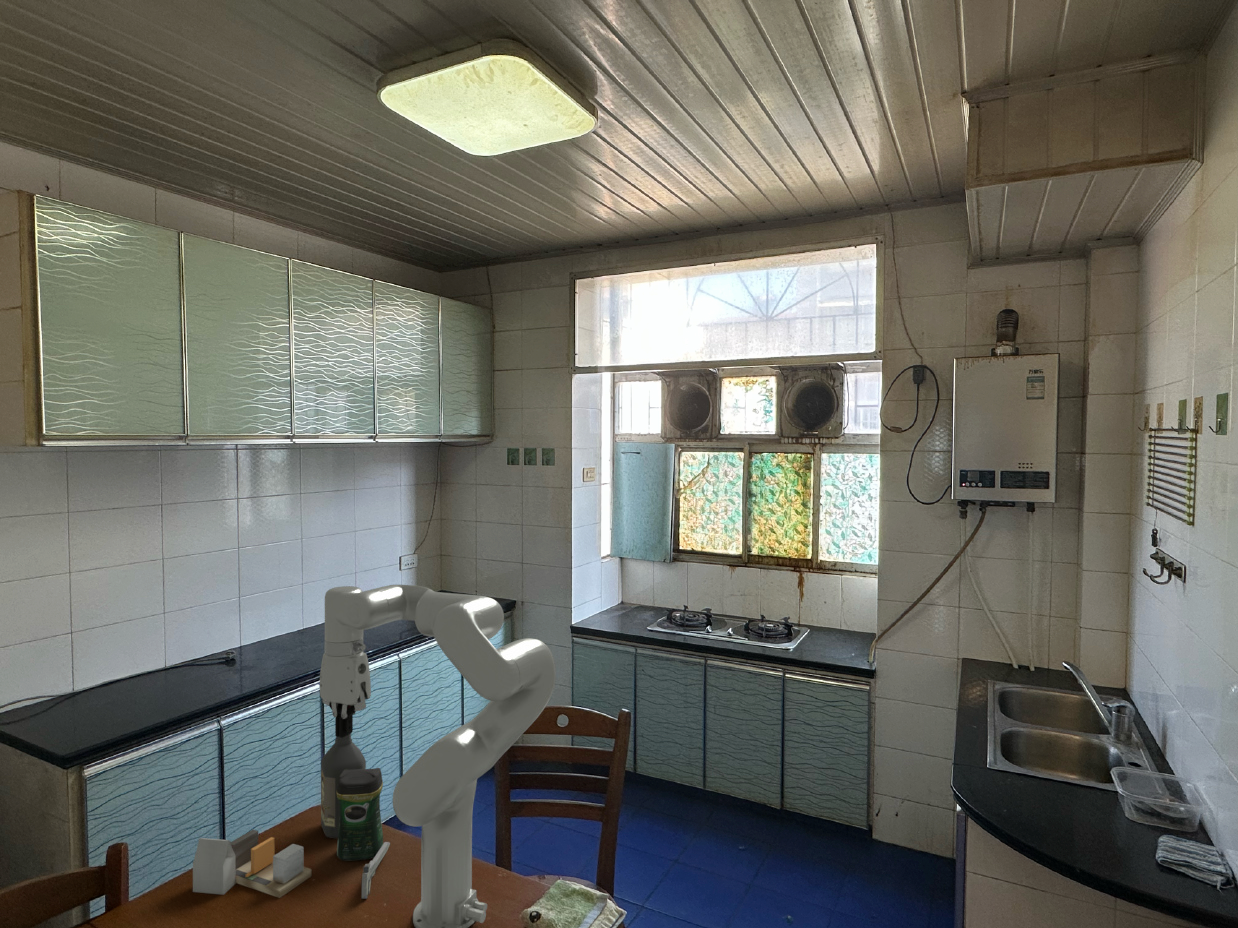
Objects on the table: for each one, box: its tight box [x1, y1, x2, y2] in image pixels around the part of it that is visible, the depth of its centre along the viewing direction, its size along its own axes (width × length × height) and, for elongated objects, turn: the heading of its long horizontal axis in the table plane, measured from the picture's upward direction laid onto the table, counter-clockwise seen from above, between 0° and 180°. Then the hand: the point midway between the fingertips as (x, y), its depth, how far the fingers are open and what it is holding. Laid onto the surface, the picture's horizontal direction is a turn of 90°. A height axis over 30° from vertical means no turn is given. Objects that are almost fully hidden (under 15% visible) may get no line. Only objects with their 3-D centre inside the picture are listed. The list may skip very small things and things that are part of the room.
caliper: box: [361, 841, 391, 900], centre depth 151 cm, size 20×1×6 cm, turn 5°
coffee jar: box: [336, 767, 384, 862], centre depth 158 cm, size 10×8×19 cm
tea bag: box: [192, 837, 237, 895], centre depth 145 cm, size 4×7×10 cm, turn 83°
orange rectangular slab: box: [245, 836, 276, 877], centre depth 148 cm, size 1×6×5 cm, turn 156°
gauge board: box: [230, 829, 312, 899], centre depth 148 cm, size 16×8×7 cm, turn 67°
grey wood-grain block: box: [273, 843, 305, 884], centre depth 146 cm, size 3×5×5 cm, turn 157°
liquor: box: [320, 706, 367, 840], centre depth 168 cm, size 9×9×30 cm
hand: (344, 734), depth 146 cm, fingers closed
